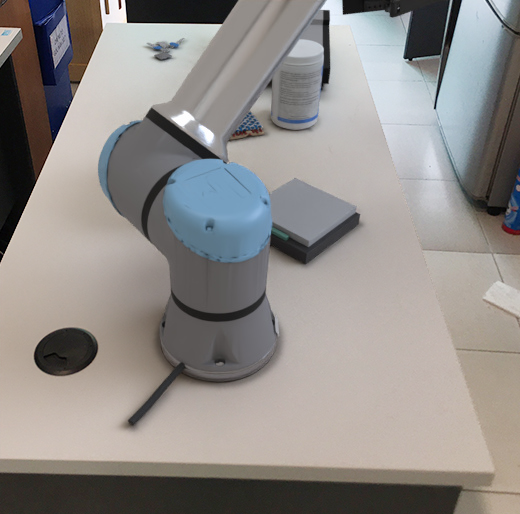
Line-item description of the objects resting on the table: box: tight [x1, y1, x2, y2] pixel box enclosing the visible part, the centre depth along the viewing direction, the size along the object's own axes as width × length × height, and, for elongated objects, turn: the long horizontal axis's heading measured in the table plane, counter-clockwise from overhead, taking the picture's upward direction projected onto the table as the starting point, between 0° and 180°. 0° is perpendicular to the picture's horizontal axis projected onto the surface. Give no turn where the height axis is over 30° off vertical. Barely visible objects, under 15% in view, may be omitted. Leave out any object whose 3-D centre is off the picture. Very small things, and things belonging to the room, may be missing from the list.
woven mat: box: [229, 110, 265, 140], centre depth 125 cm, size 10×11×2 cm
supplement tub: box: [270, 39, 324, 131], centre depth 123 cm, size 10×10×15 cm
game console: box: [300, 9, 331, 91], centre depth 144 cm, size 21×32×8 cm, turn 173°
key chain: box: [146, 37, 185, 60], centre depth 155 cm, size 14×8×1 cm, turn 167°
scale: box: [269, 177, 361, 265], centre depth 100 cm, size 14×14×3 cm
